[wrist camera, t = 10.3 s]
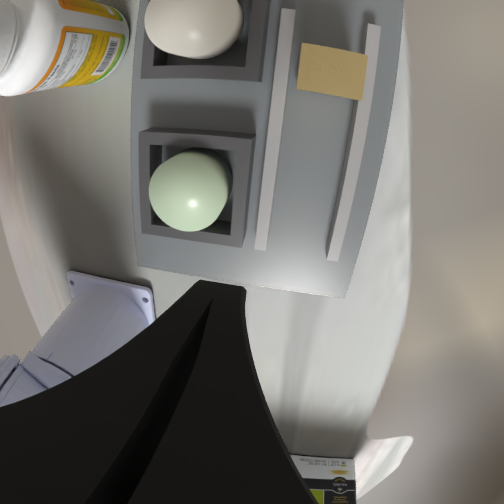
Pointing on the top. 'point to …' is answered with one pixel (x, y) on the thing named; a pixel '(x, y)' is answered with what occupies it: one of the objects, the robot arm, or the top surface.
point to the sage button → (191, 189)
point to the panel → (268, 144)
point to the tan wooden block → (331, 71)
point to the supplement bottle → (58, 44)
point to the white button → (194, 26)
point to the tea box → (328, 478)
